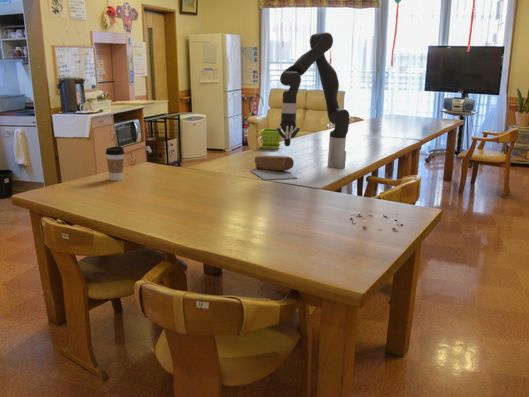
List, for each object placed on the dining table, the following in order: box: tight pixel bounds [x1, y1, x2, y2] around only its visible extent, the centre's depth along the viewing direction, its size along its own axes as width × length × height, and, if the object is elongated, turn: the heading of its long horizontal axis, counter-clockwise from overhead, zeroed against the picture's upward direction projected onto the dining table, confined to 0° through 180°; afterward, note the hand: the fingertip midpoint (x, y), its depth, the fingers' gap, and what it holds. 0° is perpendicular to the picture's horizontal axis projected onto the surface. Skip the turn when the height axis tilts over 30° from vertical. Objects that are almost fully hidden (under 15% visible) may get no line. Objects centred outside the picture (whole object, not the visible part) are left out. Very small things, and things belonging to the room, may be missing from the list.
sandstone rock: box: [254, 155, 294, 172], centre depth 264 cm, size 11×8×20 cm
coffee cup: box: [105, 146, 125, 182], centre depth 227 cm, size 8×8×15 cm
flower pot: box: [260, 128, 283, 150], centre depth 337 cm, size 14×14×13 cm
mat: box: [249, 169, 298, 181], centre depth 252 cm, size 18×22×1 cm
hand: (287, 145), depth 251 cm, fingers closed
